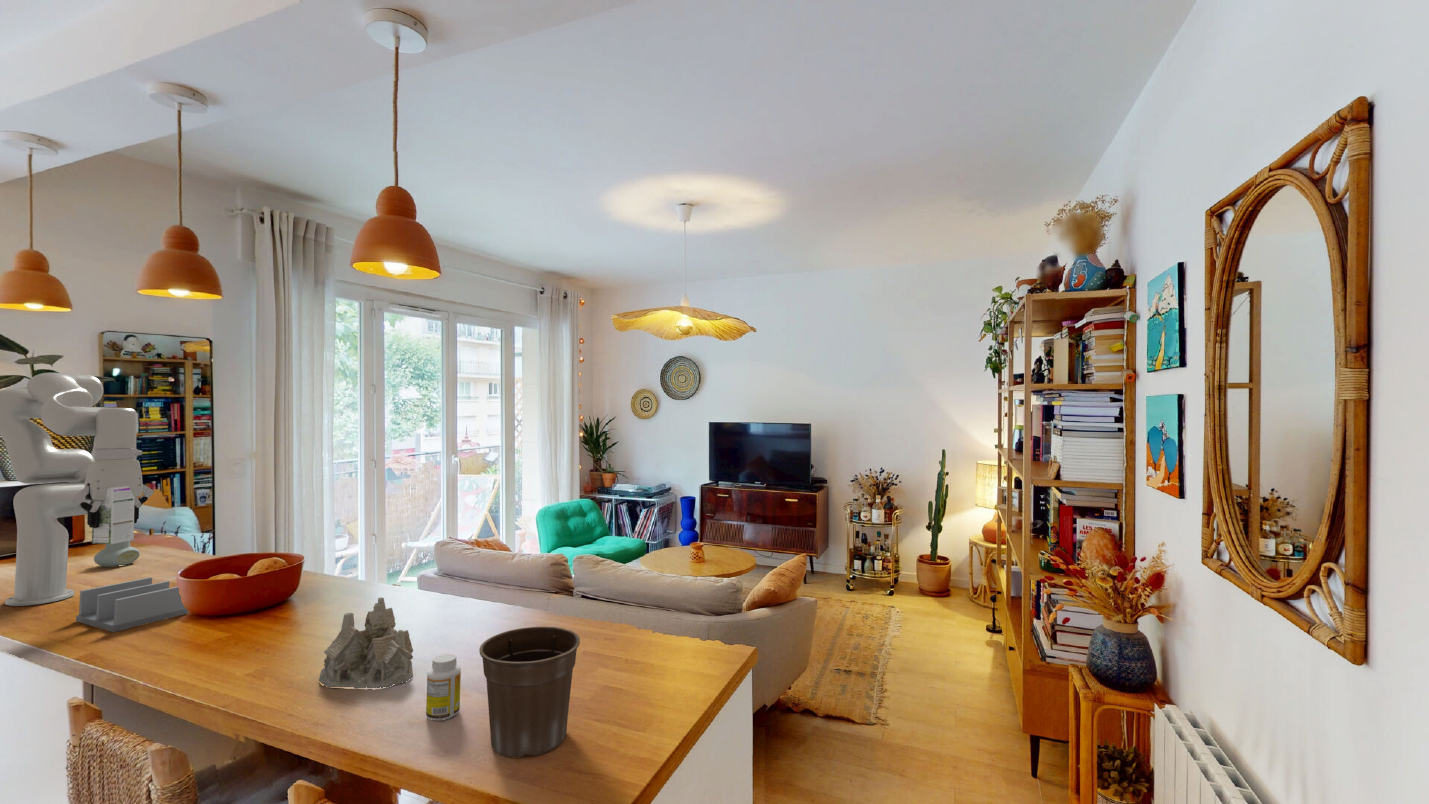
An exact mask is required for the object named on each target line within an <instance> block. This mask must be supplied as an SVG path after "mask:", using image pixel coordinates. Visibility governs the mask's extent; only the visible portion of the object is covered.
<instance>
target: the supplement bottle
mask: <svg viewBox="0 0 1429 804" xmlns="http://www.w3.org/2000/svg"><path fill="white" fill-rule="evenodd" d="M431 666H432V667H431V668H430V669H429V670H427V673H426V701H425V702H426V706H425V708H426V709H425V714H426V715H425V716H426V718H427V719H428V720H429V719H432V720H443V719H448V720H450V719H449V718H451V717H453V716H454V717H455V715H456V714H457V715H458V714H459V712H460V708H461V676H462V675H461V673H462V668H461V667H460V665H458V661H457V655H456V654H454V653H442V654H438V655H436V656H435V657H433V658H432V664H431ZM457 715H456V716H457ZM454 717H453V718H454ZM451 719H452V718H451ZM432 720H431V721H432Z"/></svg>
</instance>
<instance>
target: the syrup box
mask: <svg viewBox="0 0 1429 804" xmlns="http://www.w3.org/2000/svg"><path fill="white" fill-rule="evenodd" d="M134 498H135V497H134V496H133V494H132V492H131V490H130V488H129V487H128V486H127V485H124V486H116V487H110V488H107V496H106V500H105V501H103V502H102V503H101V505H100V506H99V508H98V509H97V512H100V523H99V527H98V528H91V544H96V545H97V544H100V545H105V544H115V543H121V542H127V541H130V542H131V541H134V538H135V526H134V525H135V523H134Z"/></svg>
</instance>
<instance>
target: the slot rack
mask: <svg viewBox="0 0 1429 804" xmlns="http://www.w3.org/2000/svg"><path fill="white" fill-rule="evenodd" d="M178 586H179V585H177V586H174V587H170V581H168V580H166V581H161V582H155V583H153V577H150V576H149V577H144V578H139V579H134V580H129V581H123V582H119V583H114V584H109V585H108V584H107V585H103V586H97V587H93V588H87V589H82V590H80V591H79V608H78V614H77V615H76V616H75V622H76V621H77V622H76V623H79V622H80V624H83V623H84V625H86V624H87V625H86V626H91V627H93V626H95V627H94V628H96V627H98V628H97V629H100V630H103V629H105V630H104V631H107V630H108V631H107V632H110V633H116V632H120V631H124V630H123V629H125V630H129V629H133V628H135V627H134V626H137V627H140V625H141V626H144V625H143V624H145V625H147V624H146V623H149V624H151V623H152V622H153V623H155V621H157V622H159V621H158V620H161V621H165V620H167V619H166V618H169V619H172V617H173V618H175V616H177V617H180V616H179V615H181V616H184V614H185V615H188V614H189V610H188V611H187V609H186V608H185V607H184V605H183V603H182V601H181V596H180V594H179V588H178ZM164 619H165V620H164ZM153 623H152V624H153ZM132 627H133V628H132Z"/></svg>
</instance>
